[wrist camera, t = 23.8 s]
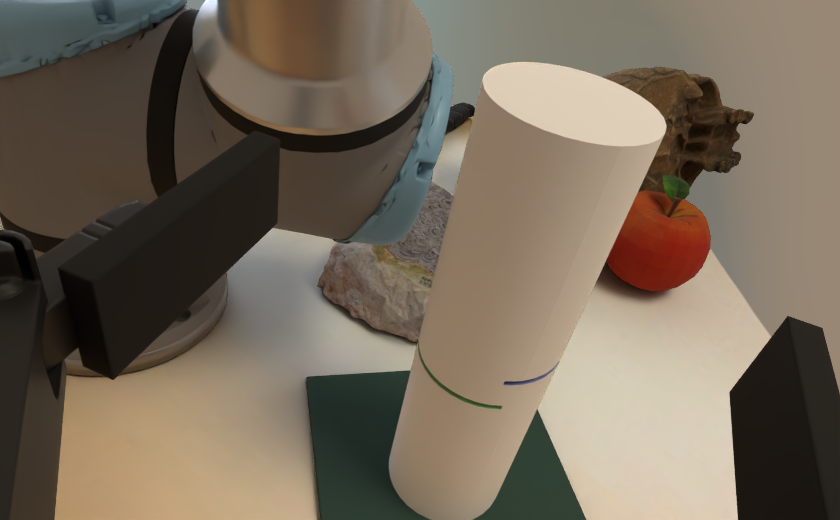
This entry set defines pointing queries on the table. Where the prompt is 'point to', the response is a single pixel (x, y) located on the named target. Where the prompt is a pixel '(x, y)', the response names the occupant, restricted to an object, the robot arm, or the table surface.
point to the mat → (371, 446)
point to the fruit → (661, 239)
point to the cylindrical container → (515, 273)
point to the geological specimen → (391, 272)
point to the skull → (686, 123)
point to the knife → (459, 115)
